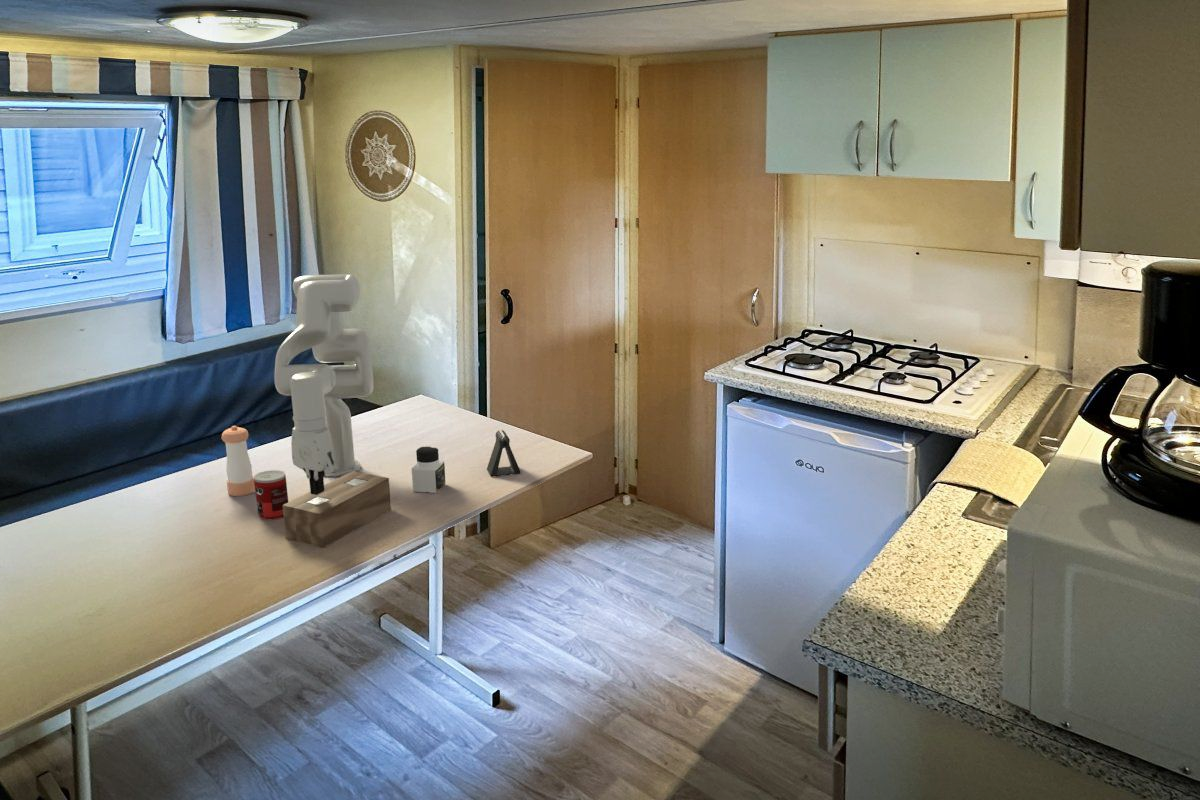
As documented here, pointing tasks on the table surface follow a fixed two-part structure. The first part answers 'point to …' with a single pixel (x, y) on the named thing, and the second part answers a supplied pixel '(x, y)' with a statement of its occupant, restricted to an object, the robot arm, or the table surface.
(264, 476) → the canned food
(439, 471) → the medicine bottle
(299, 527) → the walnut block
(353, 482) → the pin
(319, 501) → the pin
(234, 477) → the pepper shaker
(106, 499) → the table surface
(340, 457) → the robot arm
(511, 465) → the phone stand
